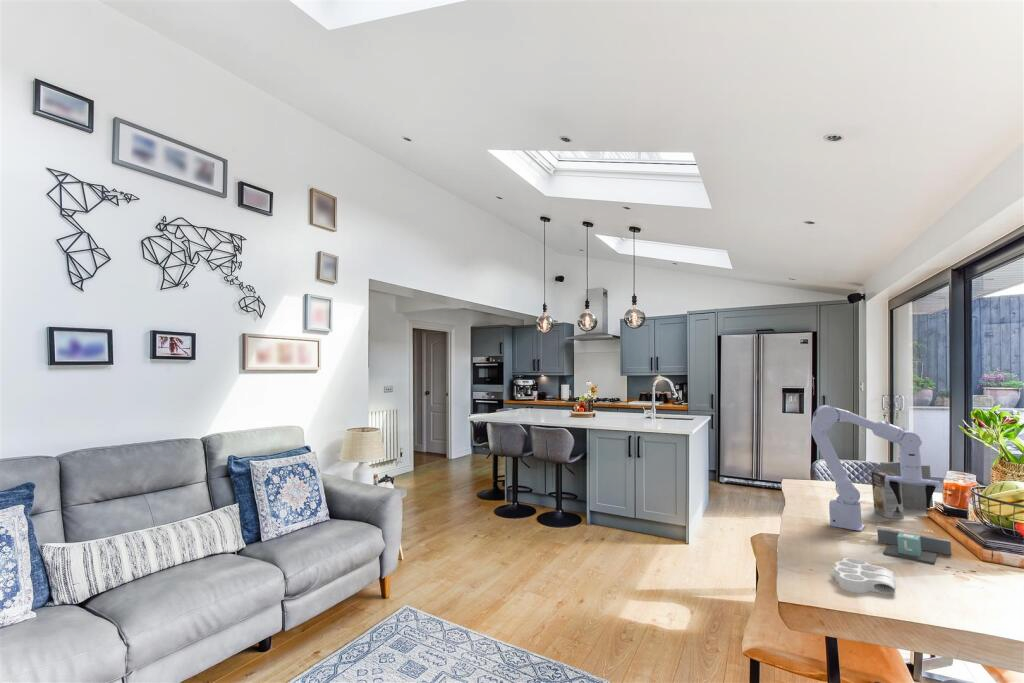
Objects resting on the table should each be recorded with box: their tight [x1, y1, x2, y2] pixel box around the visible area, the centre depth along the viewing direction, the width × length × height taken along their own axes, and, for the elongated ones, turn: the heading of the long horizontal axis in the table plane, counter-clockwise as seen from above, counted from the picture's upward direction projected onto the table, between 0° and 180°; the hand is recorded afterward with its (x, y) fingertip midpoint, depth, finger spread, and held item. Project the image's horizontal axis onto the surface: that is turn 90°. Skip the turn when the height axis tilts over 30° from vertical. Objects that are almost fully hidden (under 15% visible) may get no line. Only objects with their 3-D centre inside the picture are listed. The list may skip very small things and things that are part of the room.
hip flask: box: [879, 457, 934, 511], centre depth 197 cm, size 16×4×20 cm, turn 57°
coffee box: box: [871, 470, 905, 520], centre depth 188 cm, size 9×6×16 cm
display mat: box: [882, 544, 938, 565], centre depth 149 cm, size 12×9×1 cm
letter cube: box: [897, 531, 922, 557], centre depth 149 cm, size 5×5×5 cm
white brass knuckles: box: [828, 557, 896, 595], centre depth 132 cm, size 3×18×15 cm
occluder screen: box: [876, 527, 952, 556], centre depth 155 cm, size 18×2×4 cm, turn 45°
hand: (913, 505), depth 168 cm, fingers open, 7 cm apart
